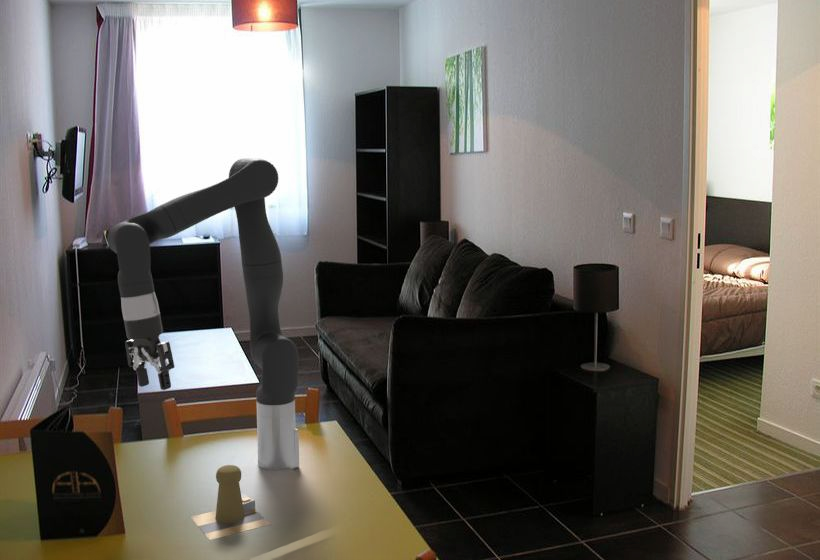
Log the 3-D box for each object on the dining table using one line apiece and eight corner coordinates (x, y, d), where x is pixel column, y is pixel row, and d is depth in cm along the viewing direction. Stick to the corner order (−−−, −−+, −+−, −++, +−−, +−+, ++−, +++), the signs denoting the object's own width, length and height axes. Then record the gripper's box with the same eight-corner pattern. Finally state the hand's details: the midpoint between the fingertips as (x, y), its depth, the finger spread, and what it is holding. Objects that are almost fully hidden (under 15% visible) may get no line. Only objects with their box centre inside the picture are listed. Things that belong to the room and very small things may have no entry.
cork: (249, 512, 176) (248, 463, 175) (235, 525, 171) (234, 474, 169) (224, 509, 178) (223, 460, 176) (209, 521, 173) (207, 470, 171)
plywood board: (249, 508, 182) (248, 502, 181) (270, 529, 172) (270, 524, 171) (190, 522, 175) (190, 516, 174) (209, 545, 165) (209, 539, 165)
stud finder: (242, 501, 182) (242, 491, 182) (255, 509, 178) (255, 498, 178) (230, 505, 180) (230, 495, 180) (243, 513, 176) (242, 503, 176)
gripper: (175, 311, 177) (188, 385, 179) (138, 309, 186) (151, 379, 189) (144, 320, 171) (158, 395, 174) (108, 317, 181) (122, 389, 183)
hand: (154, 387), depth 181 cm, fingers open, 8 cm apart
